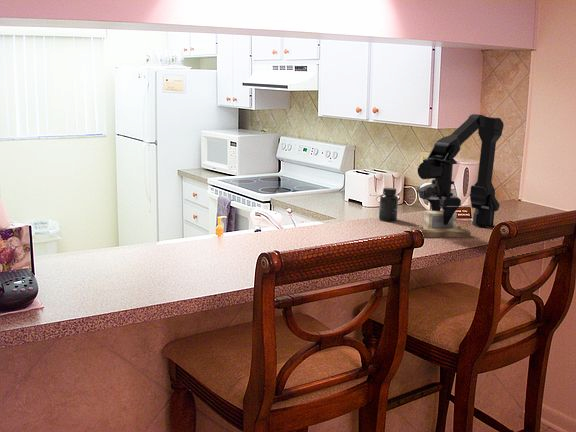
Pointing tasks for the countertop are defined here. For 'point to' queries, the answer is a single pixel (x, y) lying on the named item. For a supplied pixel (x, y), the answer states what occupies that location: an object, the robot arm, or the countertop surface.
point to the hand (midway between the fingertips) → (440, 222)
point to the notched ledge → (444, 232)
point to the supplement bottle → (388, 205)
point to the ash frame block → (438, 220)
